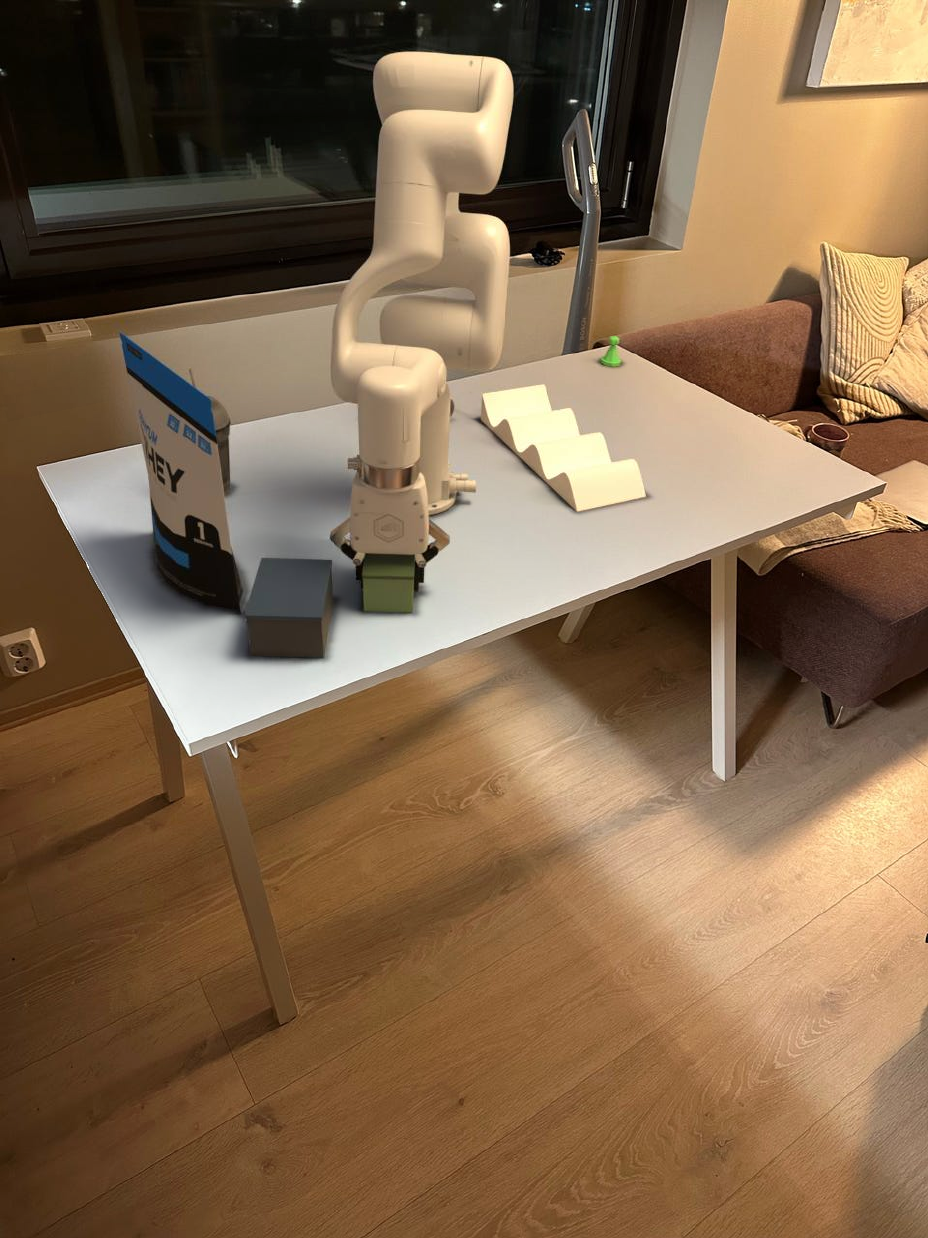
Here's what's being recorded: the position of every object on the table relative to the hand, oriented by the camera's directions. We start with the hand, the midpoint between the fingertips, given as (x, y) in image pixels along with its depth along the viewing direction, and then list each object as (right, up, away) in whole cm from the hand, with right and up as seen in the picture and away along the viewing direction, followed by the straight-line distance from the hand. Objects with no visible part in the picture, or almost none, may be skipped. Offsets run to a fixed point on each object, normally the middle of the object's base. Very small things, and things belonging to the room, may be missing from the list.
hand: (390, 583), depth 120 cm
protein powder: (-27, +2, +2) cm, 27 cm away
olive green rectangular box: (0, -1, +1) cm, 1 cm away
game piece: (+42, +50, +69) cm, 95 cm away
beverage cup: (-29, +16, +19) cm, 38 cm away
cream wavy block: (+27, +24, +34) cm, 49 cm away
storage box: (-12, -6, -7) cm, 15 cm away
